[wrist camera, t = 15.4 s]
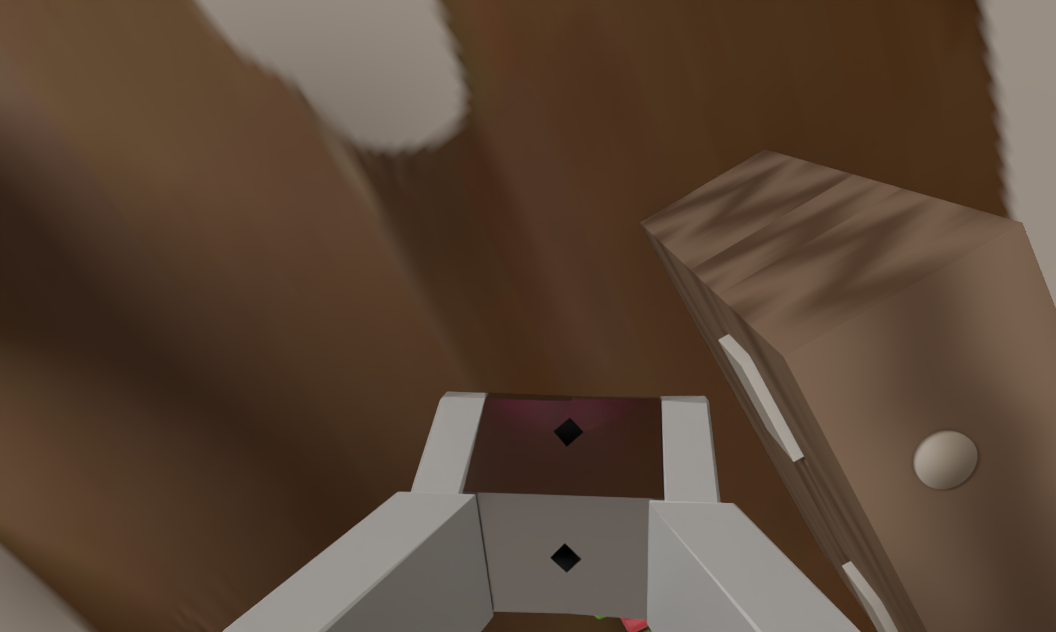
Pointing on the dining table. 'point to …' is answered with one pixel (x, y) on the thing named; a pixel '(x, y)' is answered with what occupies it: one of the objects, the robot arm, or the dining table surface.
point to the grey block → (760, 396)
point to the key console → (889, 379)
